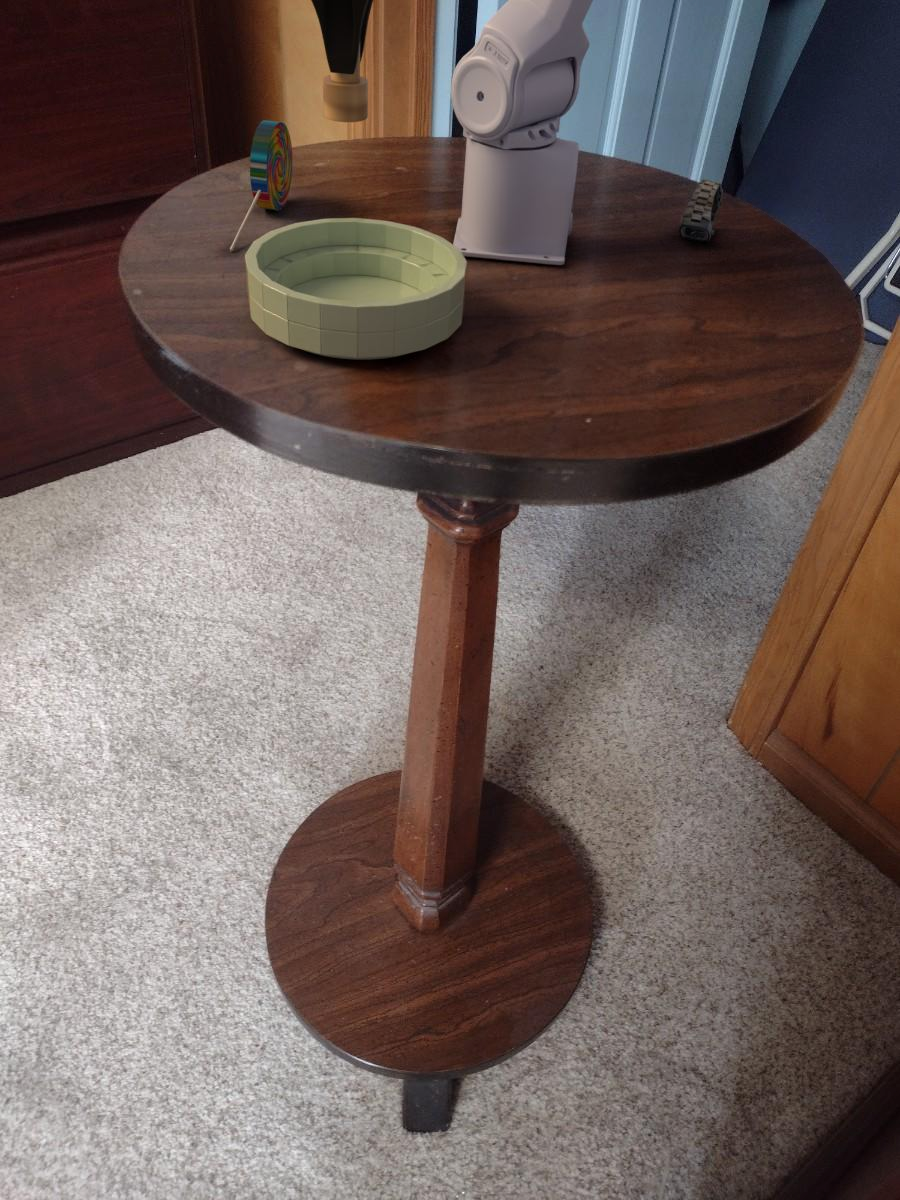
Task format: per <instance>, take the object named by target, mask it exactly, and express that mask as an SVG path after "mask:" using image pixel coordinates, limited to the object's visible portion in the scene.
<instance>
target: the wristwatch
mask: <svg viewBox="0 0 900 1200" xmlns="http://www.w3.org/2000/svg"><path fill="white" fill-rule="evenodd" d="M722 185H723V184H722V182H717V181H713V180H708V179H707V178H703V179H701V181H700V183H699V184H698V186H697V187H696V189H695V190H694V192H693V194H692V196H691V197H690V200H688V203H687V204H686V208H685V209H684V211H683V213H682V215H681V218H680V221H679V226H678V233H679V236H680V238H682V239H685V240H688V241H694V242H700V243H708V242H709V241H710V240H711V239H712V236H714V235H715V229H713V225H714V222H715V219H716V215H717V213H718V212H719V211H720V207H721V206H722V203H723V201H722V199H723V198H722V197H723V193H724V189H723V187H722Z"/></svg>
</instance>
